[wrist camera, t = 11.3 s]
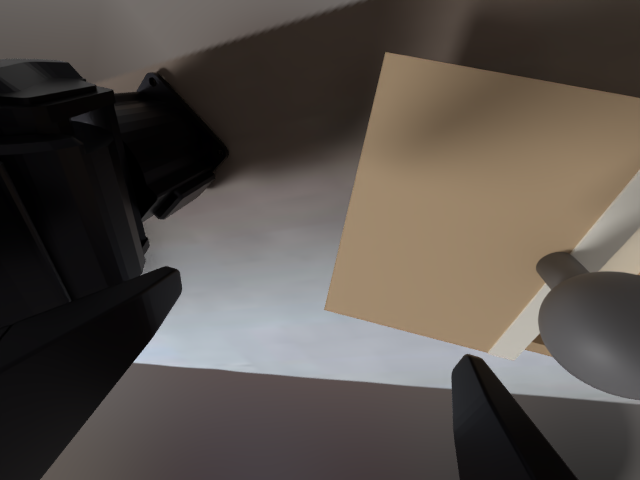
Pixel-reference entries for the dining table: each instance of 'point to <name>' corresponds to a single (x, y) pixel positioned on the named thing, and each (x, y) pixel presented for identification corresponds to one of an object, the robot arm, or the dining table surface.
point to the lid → (497, 217)
